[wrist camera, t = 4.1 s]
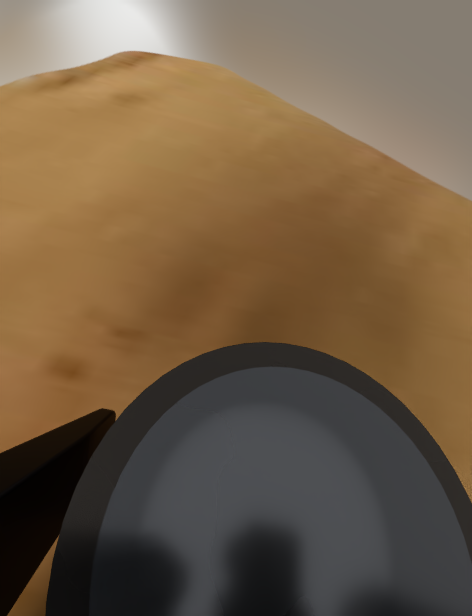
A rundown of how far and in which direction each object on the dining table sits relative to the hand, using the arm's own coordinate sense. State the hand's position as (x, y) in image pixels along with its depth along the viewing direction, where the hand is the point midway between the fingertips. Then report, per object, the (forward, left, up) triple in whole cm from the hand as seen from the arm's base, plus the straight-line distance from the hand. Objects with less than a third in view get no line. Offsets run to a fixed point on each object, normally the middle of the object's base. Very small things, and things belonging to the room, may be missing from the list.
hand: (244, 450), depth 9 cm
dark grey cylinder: (0, +1, -7) cm, 7 cm away
